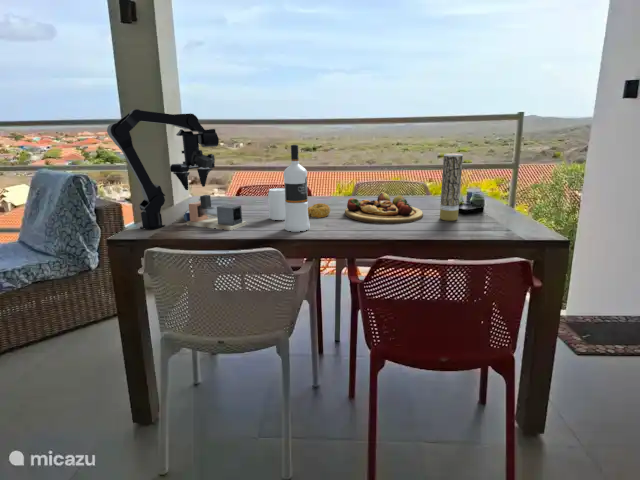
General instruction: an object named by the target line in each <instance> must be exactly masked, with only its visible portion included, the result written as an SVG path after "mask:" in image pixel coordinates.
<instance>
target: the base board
mask: <svg viewBox="0 0 640 480" xmlns="http://www.w3.org/2000/svg"><path fill="white" fill-rule="evenodd" d="M247 225H248V221H246V220H242V223H240V224H237V225H234V226H230V225H221V224H218V217H212V216H208V219H205V220H202V221H198V222H194V221H186V226H189V227H199V228H206V227H207V228H206V229H214V228H216V229H215V230H222V229H224V230H223V231H230V230H231V231H234V230H236V229H239V228H242V227H244V226H247ZM233 229H234V230H233Z"/></svg>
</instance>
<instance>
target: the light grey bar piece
mask: <svg viewBox="0 0 640 480" xmlns="http://www.w3.org/2000/svg"><path fill="white" fill-rule="evenodd" d="M198 201H200V197H199V198H198ZM183 220H184V221H186V222H189V221H190V213H189V208H188V209H187V210H185V212H184V214H183Z"/></svg>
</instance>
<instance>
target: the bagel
mask: <svg viewBox="0 0 640 480" xmlns="http://www.w3.org/2000/svg"><path fill="white" fill-rule="evenodd" d="M330 213H331V208H330V206H329V204H326V203H321V202H320V203H315V204H313V205H312V206H309V207H308V217H309V218H314V217H317V219H321V217H322V218H325V217H327V216H328V215H329V214H330Z"/></svg>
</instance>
